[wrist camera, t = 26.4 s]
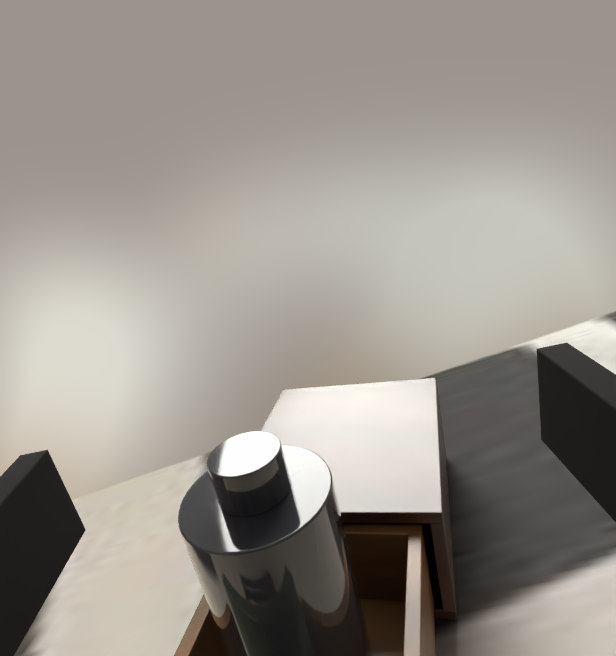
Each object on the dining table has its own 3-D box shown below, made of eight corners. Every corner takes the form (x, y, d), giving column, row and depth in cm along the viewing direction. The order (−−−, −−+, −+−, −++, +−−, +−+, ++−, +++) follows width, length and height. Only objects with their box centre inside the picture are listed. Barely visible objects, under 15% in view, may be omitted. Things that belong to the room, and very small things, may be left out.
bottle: (387, 645, 27) (336, 405, 22) (376, 795, 21) (301, 511, 15) (277, 635, 29) (206, 413, 24) (237, 770, 23) (129, 510, 17)
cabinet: (457, 620, 29) (442, 513, 27) (246, 606, 34) (214, 512, 31) (446, 457, 44) (436, 377, 42) (301, 461, 49) (283, 389, 46)
